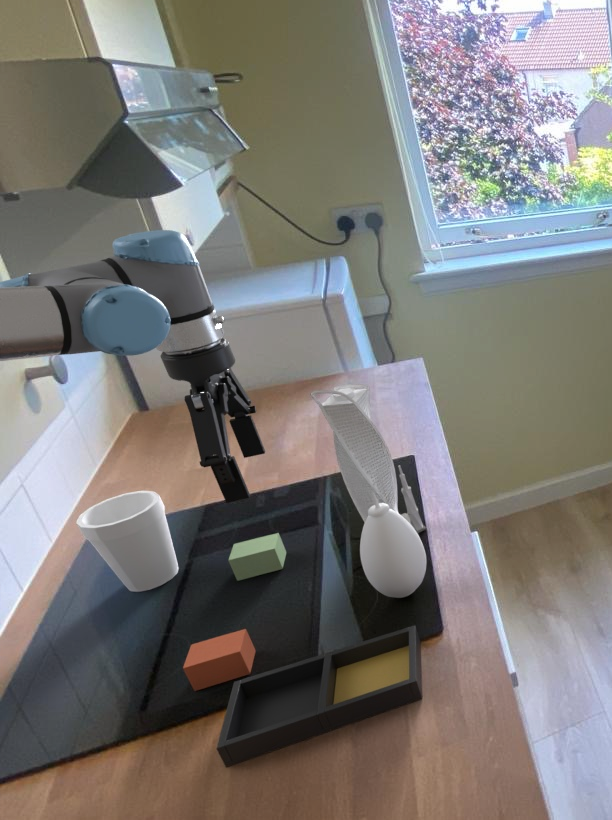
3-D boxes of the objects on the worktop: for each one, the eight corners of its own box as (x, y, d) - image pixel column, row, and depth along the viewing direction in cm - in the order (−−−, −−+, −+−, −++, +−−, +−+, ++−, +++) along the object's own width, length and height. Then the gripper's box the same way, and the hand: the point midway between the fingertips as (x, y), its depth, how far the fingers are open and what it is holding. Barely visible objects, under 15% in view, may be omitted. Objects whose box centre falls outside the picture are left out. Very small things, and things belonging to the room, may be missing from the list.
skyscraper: (375, 555, 117) (323, 399, 106) (352, 537, 122) (300, 386, 110) (426, 528, 123) (382, 379, 112) (402, 512, 128) (358, 367, 116)
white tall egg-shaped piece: (363, 606, 107) (326, 503, 99) (403, 571, 114) (371, 473, 106) (407, 615, 105) (373, 511, 97) (445, 579, 112) (416, 480, 104)
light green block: (237, 581, 113) (228, 560, 111) (242, 564, 116) (233, 543, 115) (282, 568, 115) (274, 548, 113) (286, 552, 119) (278, 532, 117)
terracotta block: (194, 691, 93) (182, 668, 92) (202, 667, 97) (191, 644, 95) (250, 674, 96) (239, 651, 94) (256, 650, 99) (246, 628, 98)
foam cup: (200, 553, 119) (170, 485, 114) (177, 589, 111) (142, 519, 106) (130, 566, 116) (95, 498, 111) (101, 605, 108) (62, 533, 103)
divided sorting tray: (225, 767, 83) (215, 748, 82) (242, 699, 92) (233, 681, 91) (422, 698, 91) (416, 680, 90) (420, 642, 100) (415, 625, 99)
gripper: (205, 372, 91) (263, 512, 100) (242, 312, 112) (287, 433, 121) (130, 385, 89) (196, 528, 97) (182, 321, 109) (233, 444, 118)
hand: (247, 476), depth 109 cm, fingers open, 13 cm apart
